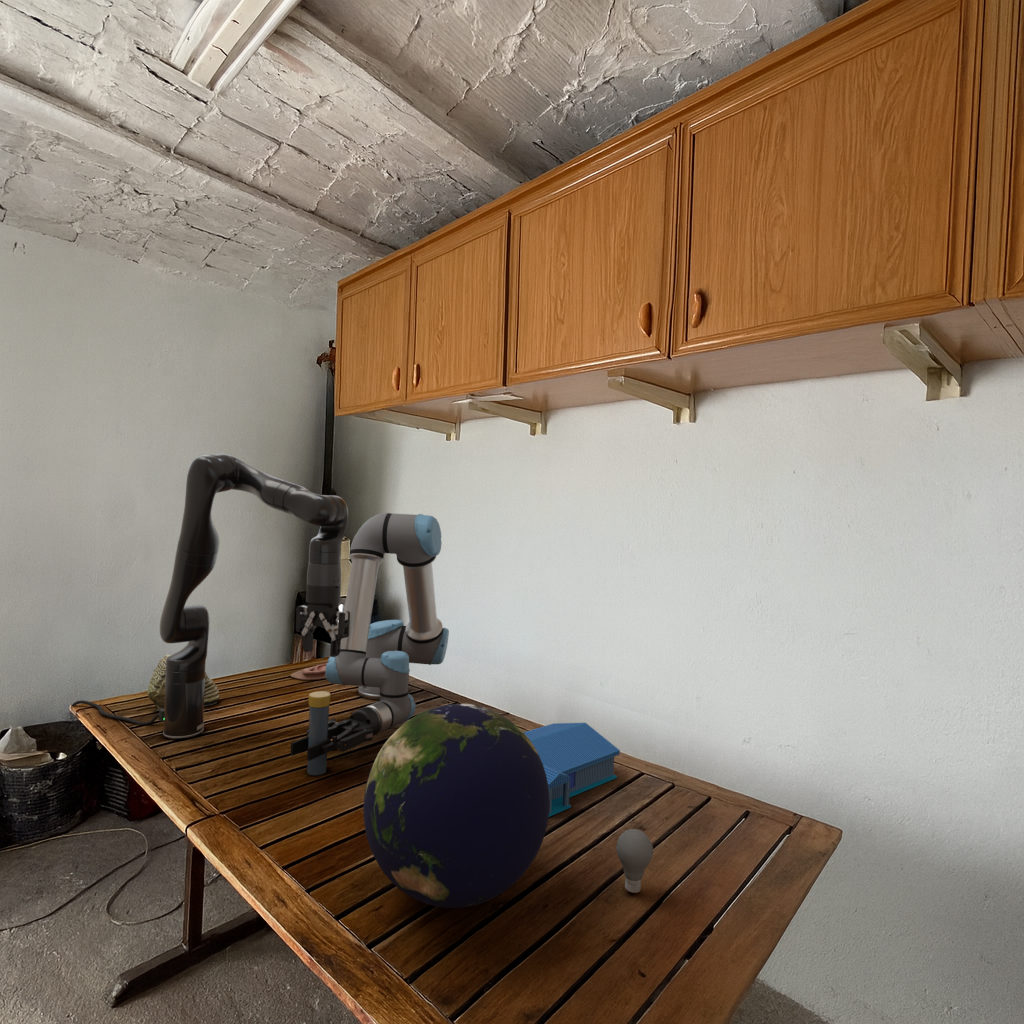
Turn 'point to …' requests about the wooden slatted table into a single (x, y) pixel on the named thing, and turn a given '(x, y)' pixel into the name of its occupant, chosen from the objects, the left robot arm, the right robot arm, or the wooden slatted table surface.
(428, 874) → the globe
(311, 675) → the anatomical model
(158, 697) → the fossil
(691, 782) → the wooden slatted table surface
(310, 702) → the lid
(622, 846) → the light bulb
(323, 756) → the grey bottle
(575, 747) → the model building
